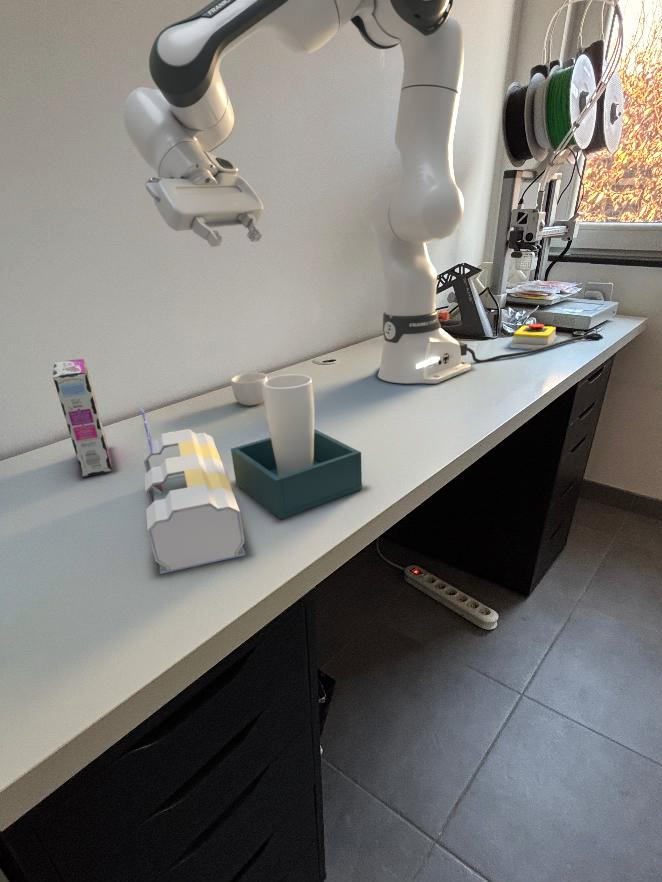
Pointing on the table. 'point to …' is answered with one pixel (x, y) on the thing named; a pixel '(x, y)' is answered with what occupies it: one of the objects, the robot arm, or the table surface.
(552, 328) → the emergency button
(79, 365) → the candy bar box
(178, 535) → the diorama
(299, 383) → the drinking glass
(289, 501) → the bin
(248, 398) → the teacup
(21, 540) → the table surface
